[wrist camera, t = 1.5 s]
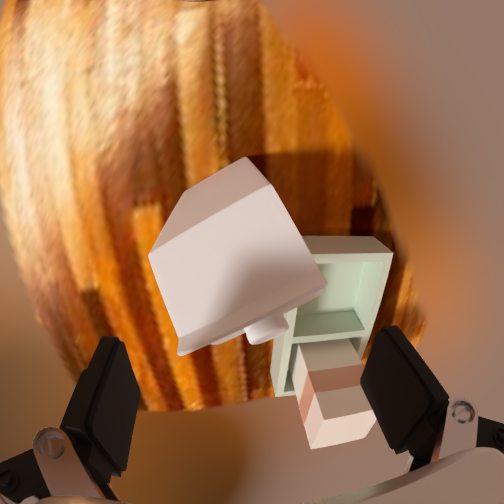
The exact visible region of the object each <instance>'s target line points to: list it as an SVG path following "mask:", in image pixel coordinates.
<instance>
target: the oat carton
mask: <svg viewBox="0 0 504 504" xmlns="http://www.w3.org/2000/svg"><path fill="white" fill-rule="evenodd" d="M288 367H289V370H290V374H291V378H292V381H293V385H294V389H295V393H296V396H297V400H298V404H299V409H300V413H301V417H302V421H303V424H304V426H305V430H306V433H307V437H308V441H309V445H310V448H311V449H315V448H321V447H326V446H331V445H336V444H340V443H345V442H349V441H353V440H357V439H361V438H365V436H366V434H367V433H368V432H369V430H370V429H371V427H372V426H373V424H374V423H375V421H376V420H377V419H376V416H375V414H374V412H373V410H372V408H371V406H370V404H369V402H368V400H367V398H366V396H365V393H364V391H363V389H362V387H361V384H360V378H361V376H362V373H363V371H364V368H365V366H364V364H362V362H361V360H360V358H359V356H358V354H357V353H356V351H355V349H354V347H353V345H352V343H351V342H350V340H349V338H345V339H336V340H327V341H317V342H306V343H294V344H292V346H291V352H290V358H289V364H288Z"/></svg>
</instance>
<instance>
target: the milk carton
mask: <svg viewBox="0 0 504 504" xmlns="http://www.w3.org/2000/svg"><path fill="white" fill-rule="evenodd" d="M148 257H149V260H150V263H151V266H152V269H153V272H154V275H155V278H156V281H157V283H158V286H159V289H160V292H161V294H162V297H163V300H164V302H165V305H166V307H167V310H168V313H169V315H170V318H171V320H172V323H173V325H174V328H175V330H176V332H177V335H178V337H179V343H178V350H177V354H178V355H179V356H183V355H185V354H188V353H190V352H192V351H195V350H197V349H199V348H202V347H204V346H206V345H208V344H221V343H223V342H226V341H228V340H230V339H232V338H235V337H237V336H239V335H241V334H243V333H245V332H246V334H247V338H248V340H249V342H250V344H260V343H263V342H266V341H268V340H271V339H273V338H275V337H277V336H279V335H281V334H283V333H284V332H286V331H287V330H288V329H289V325H288V323H287V321H286V319H285V318H284V314H285V313H287V312H289V311H291V310H293V309H295V308H297V307H299V306H300V305H302V304H304V303H306V302H308V301H310V300H312V299H314V298H316V297H318V296H319V295H321V294H323V293H325V292H326V291H325V287H326V286H327V285H328V283H327V281H326V279H325V277H324V276H323V274H322V273H321V271H320V270H319V268H318V266H317V264H316V262H315V260H314V258H313V257H312V255H311V253H310V251H309V249H308V247H307V246H306V244H305V242H304V240H303V238H302V236H301V235H300V233H299V231H298V229H297V227H296V226H295V224H294V222H293V220H292V219H291V217H290V215H289V213H288V212H287V210H286V208H285V206H284V205H283V203H282V201H281V199H280V198H279V196H278V194H277V192H276V191H275V189H274V187H273V186H272V184H270V183H269V181H268V180H267V179H266V178H265V177H264V176H263V175H262V173H261V172H260V171H259V170H258V169H257V168H256V167H255V165H254V164H253V163H252V162H251V161H250V160H249V159H248V158H247V157H243V158H241V159H239V160H237V161H236V162H234V163H232V164H230V165H228V166H227V167H225V168H223V169H221V170H220V171H218V172H216V173H214V174H213V175H211V176H209V177H208V178H206V179H204V180H202V181H201V182H199V183H197V184H196V185H194V186H192V187H191V188H189V189H188V190H186V191H185V192H184V193H183V195H182V196H181V198H180V200H179V201H178V203H177V205H176V206H175V208H174V210H173V212H172V213H171V215H170V217H169V219H168V220H167V222H166V224H165V226H164V227H163V229H162V231H161V233H160V235H159V236H158V238H157V240H156V242H155V244H154V246H153V248H152V249H151V251H150V253H149V255H148Z"/></svg>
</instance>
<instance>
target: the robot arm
mask: <svg viewBox="0 0 504 504" xmlns="http://www.w3.org/2000/svg"><path fill="white" fill-rule="evenodd" d="M183 1H205V0H183ZM360 384H361V387H362V389H363V391H364V393H365V396H366V398H367V400H368V402H369V404H370V406H371V408H372V410H373V412H374V414H375V416H376V419H377V420H378V423H379V425H380V427H381V429H382V432H383V433H384V436H385V438H386V440H387V442H388V445H389V447H390V448H391V449H394V451H395V453H396V454H399V453H402V452H405V451H407V450H409V453H410V457H409V460H408V463H407V466H406V469H405V472H404V475H402V476H399V477H397V478H394V479H391V480H388V481H386V482H383V483H380V484H377V485H374V486H371V487H368V488H364V489H361V490H358V491H355V492H351V493H347V494H343V495H339V496H335V497H331V498H327V499H322V500H318V501H312V502H307V503H302V504H504V424H503V423H500V422H496V421H493V420H489V419H486V418H482V417H479V416H478V410H477V408H476V406H475V405H474V404H473V403H472V402H471V401H470V400H468V399H465V398H455V399H453V400H452V401H451V402H449V401H448V399H449V396H448V394H447V393H446V392H445V390H444V388H443V387H442V386H441V384H440V383H439V381H438V380H437V378H436V377H435V376H434V374H433V373H432V371H431V370H430V369H429V367H428V366H427V365H426V363H425V362H424V360H423V359H422V358H421V356H420V355H419V354H418V352H417V351H416V350H415V348H414V347H413V346H412V344H411V343H410V342H409V340H408V339H407V338H406V336H405V335H404V334H403V333H402V331H401V330H400V329H399V327H397V326H388V327H383V328H382V329H381V330H380V332H378V333H377V335H376V338H375V341H374V344H373V347H372V350H371V352H370V355H369V358H368V360H367V363H366V366H365V368H364V371H363V373H362V376H361V378H360ZM139 400H140V389H139V386H138V383H137V381H136V378H135V375H134V372H133V369H132V366H131V363H130V360H129V357H128V354H127V351H126V347H125V344H124V342H122V341H120V340H119V338H118V337H109V336H103V337H102V338H101V340H100V342H99V344H98V346H97V348H96V350H95V353H94V355H93V357H92V359H91V361H90V364H89V366H88V368H87V369H85V370H83V372H82V373H81V376H80V378H79V380H78V382H77V385H76V387H75V390H74V392H73V394H72V397H71V399H70V402H69V404H68V407H67V409H66V412H65V415H64V417H63V420H62V423H61V425H60V428H56V427H47V428H43V429H42V430H40V431H39V432H38V433H37V434H36V435H35V437H34V439H33V444H32V447H33V448H32V449H30V450H28V451H26V452H24V453H22V454H20V455H17V456H15V457H13V458H10V459H8V460H6V461H3V462H1V463H0V504H131V503H125V502H121V500H120V499H119V497H118V496H117V495H116V493H115V492H114V490H113V489H112V487H111V486H110V484H109V483H110V479H111V475H112V476H117V477H121V472H122V471H125V470H126V468H127V462H128V456H129V450H130V444H131V439H132V434H133V428H134V424H135V419H136V414H137V409H138V405H139Z"/></svg>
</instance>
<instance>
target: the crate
mask: <svg viewBox="0 0 504 504" xmlns="http://www.w3.org/2000/svg"><path fill="white" fill-rule="evenodd" d="M302 238H303V240H304V242H305V244H306V246H307V247H308V249H309V251H310V253H311V255H312V257H313V258H314V260H315V262H316V264H317V266H318V268H319V270H320V271H321V273H322V274H323V276H324V277H325V279H326V281H327V283H328V285H327V286H326V287H325V291H326V292H325V293H323V294H321V295H319V296H318V297H316V298H314V299H312V300H310V301H308V302H306V303H304V304H302V305H300V306H299V307H297V308H295V309H293V310H291V311H289V312H287V313H285V314H284V318H285V319H286V321H287V323H288V325H289V329H288V330H287V331H286V332H284V333H283V334H281V335H279V336H277V337H275V338H274V344H273V353H272V362H271V371H270V372H271V377H272V382H273V387H274V392H275V397H279V396H289V395H296V393H295V389H294V385H293V381H292V378H291V374H290V370H289V367H288V364H289V358H290V352H291V346H292V344H294V343H306V342H317V341H327V340H336V339H345V338H349V340H350V342H351V343H352V345H353V347H354V349H355V351H356V353H357V354H358V356H359V358H360V360H361V359H362V356H363V354H364V351H365V348H366V345H367V343H368V340H369V337H370V334H371V331H372V328H373V325H374V322H375V319H376V316H377V312H378V309H379V306H380V302H381V299H382V296H383V292H384V288H385V285H386V281H387V277H388V273H389V270H390V266H391V261H392V257H393V252H392V251H391V250H389V249H388V248H387V247H386V246H385V245H383V244H382V243H381V242H380V241H378V240H377V239H376V238H375V237H374V236H302Z"/></svg>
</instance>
